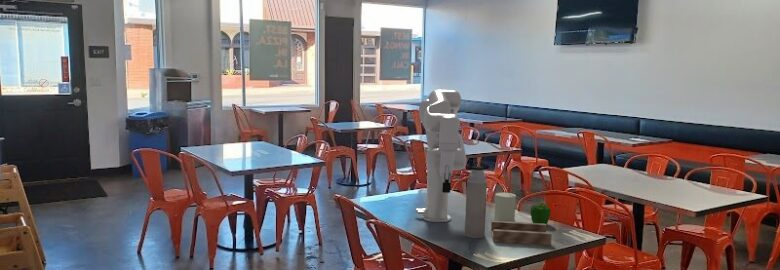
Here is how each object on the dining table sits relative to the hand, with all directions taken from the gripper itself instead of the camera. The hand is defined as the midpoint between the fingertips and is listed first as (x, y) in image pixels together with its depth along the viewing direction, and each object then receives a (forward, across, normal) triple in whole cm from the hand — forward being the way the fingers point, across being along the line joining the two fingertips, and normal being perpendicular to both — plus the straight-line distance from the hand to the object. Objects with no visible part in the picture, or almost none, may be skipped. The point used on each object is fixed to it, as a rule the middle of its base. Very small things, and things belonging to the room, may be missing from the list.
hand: (446, 192), depth 238 cm
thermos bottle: (+17, 0, +12) cm, 21 cm away
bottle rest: (+17, 0, +30) cm, 35 cm away
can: (+17, -27, +26) cm, 41 cm away
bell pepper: (+17, -24, +41) cm, 51 cm away
